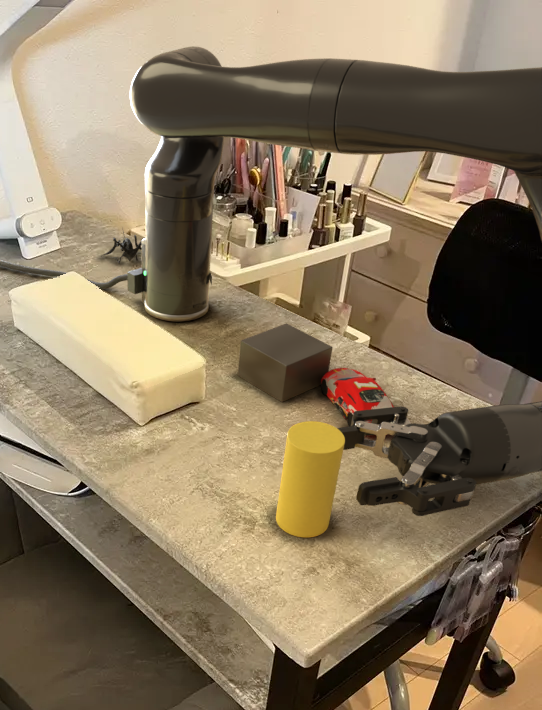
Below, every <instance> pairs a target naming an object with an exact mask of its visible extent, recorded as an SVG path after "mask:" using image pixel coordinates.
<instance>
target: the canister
mask: <svg viewBox="0 0 542 710" xmlns="http://www.w3.org/2000/svg"><path fill="white" fill-rule="evenodd" d="M337 428H338V427H336V426H334V425H332V424H329V423H326V422H323V421H315V420H308V421H307V420H306V421H300V422H298V423H295V424H293V425H292V426H290V428H289V429H288V430H287V432H286V433H287V434H286V440H285V447H284V455H283V461H282V462H283V463H282V469H281V476H280V485H279V490H278V498H277V506H276V513H275V521H276V524H277V526H278V527H279V528H280V529H281V530H282V531H284V532H285V533H287V534H289V535H291V536H294V537H298V538H314V537H318V536H321V535H322V534H324V533H325V532H326V531H327V530H328V528H329V526H330V520H331V514H332V510H333V505H334V499H335V494H336V489H337V484H338V479H339V474H340V469H341V465H342V464H341V463H342V459H343V455H344V454H343V453H344V450H343V449H344V444H345V438H344V435H343V434H342V432H341V431H340V430H338V429H337Z"/></svg>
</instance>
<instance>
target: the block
mask: <svg viewBox="0 0 542 710" xmlns="http://www.w3.org/2000/svg"><path fill="white" fill-rule="evenodd" d="M333 348H334V347H333V345H330V344H328V343H325V342H324V341H323V340H320V339H318V338H316V337H314V336H313V335H310V334H308V333H306V332H305V331H302V330H301V329H298V328H296V327H295V326H293V325H292V324H288V323H287V322H286V323H283V324H280V325H278V326H275V327H273V328H269V329H267V330H265V331H262V332H260V333H257V334H254V335H251V336H249V337H245V338H243V339H241V340H240V343H239V355H238V357H239V358H238V367H237V368H238V369H237V376H238V377H239V378H241V379H243V380H244V381H245V382H247V383H249V384H251V385H252V386H253V387H256V388H257V389H259V390H261V391H262V392H264V393H266V394H268V396H270V397H272V398H274V399H276V400H277V401H279V402H281V403H284V402H286V401H287V400H291V399H293V398H295V397H296V396H299V395H302V394H304V393H306V392H309V391H310V390H312V389H314V388H317V387H319V386H320V387H321V379H322V377H323V376H324V374H326V373H327V372H329V371H330V365H331V361H332V360H331V359H332V354H333Z"/></svg>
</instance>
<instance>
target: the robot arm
mask: <svg viewBox="0 0 542 710" xmlns="http://www.w3.org/2000/svg"><path fill="white" fill-rule="evenodd" d="M129 100H130V107H131V109H132V111H133V114H134V115H135V117H136V119H137V120H138V122H140V124H141V125H142V126H143V127H144V128H145V129H146V130H148V131H149V132H150V133H152V134H154V135H155V136H158V137H160V141H159V143H158V146H157V148H156V150H155V152H154V153H153V155H152V157H150V159H149V161H148V162H147V164H146V167H145V170H144V234H145V235H144V237H143V238H144V239H143V238H142V239H143V240H142V239H141V240H142V245H141V247H142V250H141V267H138V268H136V269H132V270H128V271H127V273H125V274H120V275H116V276H115V277H113V278H112V279H110V280H109V281H105V282H98V281H94V280H90V279H88V278H86V279H87V280H88V281H90V282H91V283H93V284H95V285H96V286H98V287H100V288H101V290H105V289H111V288H113V287H114V286H116V285H117V284H119V283H121V282H126V281H127V291H128V292H130V293H132V294H134V295H138V294H140V293H141V303H142V304H144V311H145V312H146V313H147V314H148V315H150V316H151V317H152V318H156V319H158V320H162V321H167V322H189V321H194V320H197V319H199V318H202V317H204V316H205V315H206V314H207V313H208V311H209V305H210V301H209V296H210V295H209V293H210V285H211V287H212V283H213V275H212V273H211V257H212V256H211V255H212V237H213V220H214V219H213V215H214V198H215V197H214V195H215V183H216V182H215V181H216V177H217V173H218V170H219V168H220V166H221V163H222V156H223V151H224V140H225V139H224V138H230V139H239V140H240V139H241V140H246V141H251V142H256V143H262V144H267V145H273V146H280V147H288V148H297V149H302V150H309V151H315V152H322V153H323V152H325V153H333V154H342V155H352V156H353V155H354V156H356V155H357V156H378V155H393V154H404V153H415V152H416V153H417V152H419V153H420V152H421V153H422V152H423V153H424V152H425V153H426V152H428V153H439V154H444V155H445V154H446V155H451V156H456V157H461V158H466V159H472V160H476V161H480V162H485V163H489V164H493V165H497V166H500V167H503V168H505V169H509V170H511V171H513V172H514V174H515V177H516V178H517V180H518V183H519V184H520V186H521V188H522V191H523V192H524V194H525V197H526V198H527V201H528V203H529V205H530V207H531V210H532V213H533V216H534V219H535V222H536V225H537V229H538V232H539V237H540V241H541V242H542V66H538V67H526V68H525V67H523V68H512V69H500V70H499V69H498V70H497V69H496V70H479V71H477V70H476V71H445V70H444V71H443V70H436V69H429V68H424V67H419V66H413V65H406V64H400V63H392V62H384V61H383V62H382V61H373V60H364V59H351V58H331V57H330V58H324V57H323V58H304V59H294V60H292V59H291V60H285V61H283V60H282V61H277V62H276V61H275V62H270V63H263V64H257V65H250V66H241V67H240V66H238V67H236V66H235V67H231V66H222V63H221V62H220V60H219V59H218V58H217V56H216V55H214V54H213V52H211V51H210V50H209V49H207V48H204V47H201V46H185V47H181V48H177V49H174V50H170V51H166V52H162V53H160V54H157V55H154V56H153V57H151V58H149V59H148V60H147V61H145V62H144V64H142V65H141V66H140V67H139V69H138V70H137V71H136V73H135V75H134V77H133V78H132V81H131V85H130V88H129ZM0 267H3V268H7V269H10V270H14V271H19V272H23V273H26V274H27V273H29V274H34V275H39V276H48V277H54V278H58V277H57V276H60V275H63V274H66V273H67V272H66V271H60V270H55V269H53V270H52V269H46V268H39V267H38V268H37V267H33V266H28V265H23V264H18V263H14V262H10V261H6V260H3V259H0ZM409 411H410V410H409V408H408V407H406V406H402V405H401V406H394V407H390V408H380V409H370V410H360V411H355V412H354V413H353V417H352V422H351V426H342V427H336V428H337V429H338V430H340V431H341V432H342V434H343V435H344V438H345V444H344V449H343V451H346V450H353V449H355V448H358V449H362V450H366V451H371V452H372V453H373V455H374V456H375V457H378V458H383V459H387V460H388V461H389V462H390V463H391V464H393V466H396V468H397V471H398V472H399V473H400V475H401V476H402V478H401V479H400V480H399V478H398V476H394V477H389V478H388V477H387V478H382V479H381V478H380V479H375V480H369V481H363V482H361V483H360V484H359V485H358V487H357V492H356V497H355V500H356V501H357V502H358V504H359V505H360V506H371V507H372V506H373V507H375V506H379V505H380V506H381V505H388V504H392V503H393V504H394V503H397V504H400V505H402V506H406V505H408V506H409V507H411V513H412V514H413V515H415V516H416V517H424V516H428V515H432V514H437V513H441V512H446V511H451V510H455V509H459V508H464V507H468V506H469V505H470V503H471V501H472V498H473V495H474V492H475V490H476V486H477V485H483V484H489V483H494V482H501V481H507V480H513V479H517V478H518V479H519V478H520V477H524V476H528V475H530V474H534V473H538V472H542V400H541V401H533V402H528V403H519V404H518V403H515V404H514V403H504V404H496V405H490V406H482V407H475V408H467V409H461V410H454V411H447V412H443V413H441V414H440V415H438V416H437V417H435V418H434V419H433V420H432V421H430V422H429V423H426V424H425V423H416V422H411V421H410V420H409V418H408V415H409ZM365 420H372V422H371V423H368V422H365ZM387 435H390V436H393V437H392V438H391V439H390V443H389V446H388V447H387V446H386V445H385V439H386V436H387ZM367 436H376V440H374V439H369V438H366V437H367ZM429 484H430V485H429ZM430 499H432V500H430Z"/></svg>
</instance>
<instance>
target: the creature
mask: <svg viewBox="0 0 542 710" xmlns="http://www.w3.org/2000/svg"><path fill="white" fill-rule="evenodd" d="M124 232H125V231H124V228H123V227H122V234H123V238H124V239H123V240H122V241H121V240H120V239H118V240H117V238H116V237H112V238H113V239H112V241H113V246H112V248H111V249H110V250H109V251H107V252H106V253H104V254H101V255H100V258H103V257H104V256H109V255H111V254H112V253H113V252H114V251H115V250H116V248H118V247H120V251H121V252H122V254H121V255H120V257H119V259H118V256H117V257H116V256H112V258H113V259H116V261H117V263H118V264H120V263H121V260H122V258H126V259H127V260H128V262H129V263H130V262H131V261H132V259H133V258H134V257H135V261H137V262H138V261H139V260H138V255H137V254H140V253H141V251H142V240H143V239H144V238H145V237H143V238H142V239H141V240H140V241H139V243H138V238H137V235H136V234H134V235H133V237H134V245H135V248H134V246H133V243H132V241H131V239H130V238H128V237H126V236H125V233H124ZM139 250H140V251H139Z"/></svg>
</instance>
